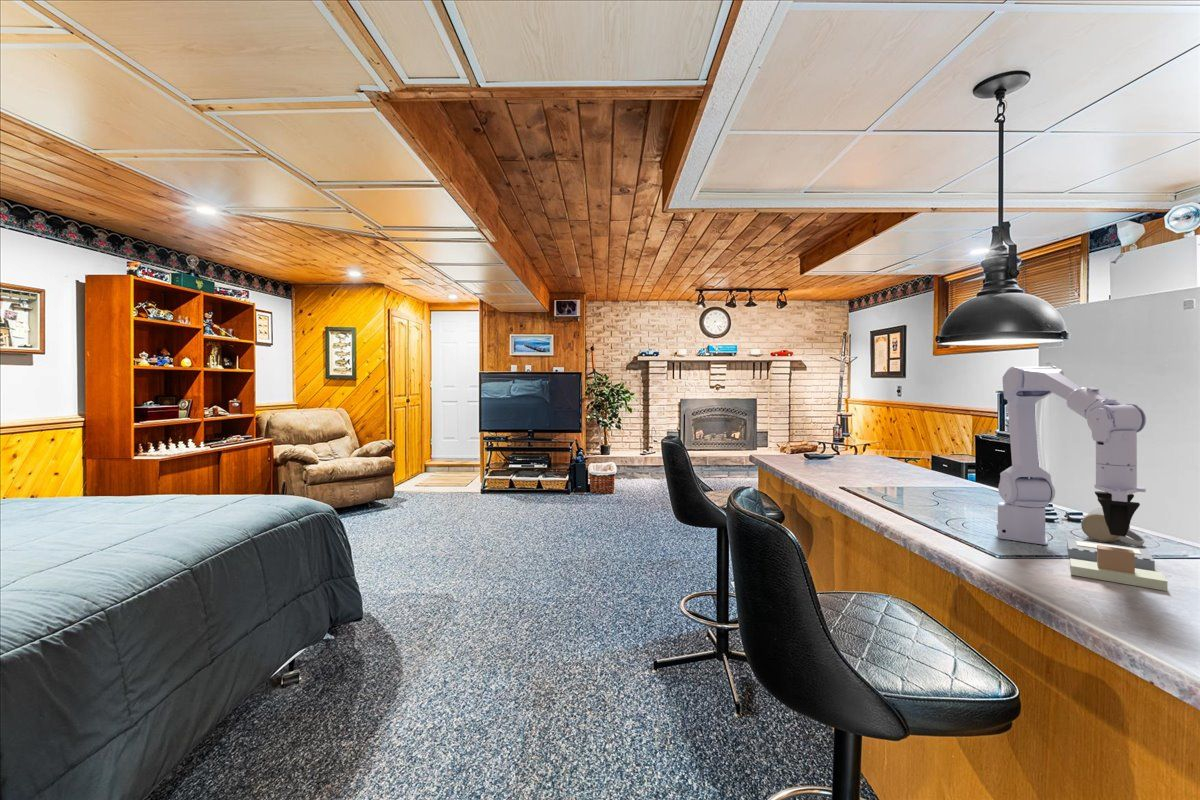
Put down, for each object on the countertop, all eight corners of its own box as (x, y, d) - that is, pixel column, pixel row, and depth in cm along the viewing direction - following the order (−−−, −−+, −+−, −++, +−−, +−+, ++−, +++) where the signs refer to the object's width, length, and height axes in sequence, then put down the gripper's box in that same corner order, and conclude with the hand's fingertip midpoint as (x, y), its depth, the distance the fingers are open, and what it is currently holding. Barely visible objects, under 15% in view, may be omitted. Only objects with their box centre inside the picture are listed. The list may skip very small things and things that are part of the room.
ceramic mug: (1079, 539, 124) (1079, 509, 124) (1087, 533, 129) (1088, 504, 129) (1140, 550, 116) (1141, 518, 115) (1147, 544, 120) (1148, 513, 120)
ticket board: (1068, 557, 111) (1068, 547, 111) (1067, 546, 118) (1067, 537, 118) (1154, 570, 102) (1154, 560, 102) (1147, 558, 110) (1147, 548, 110)
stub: (1071, 574, 100) (1070, 546, 100) (1070, 566, 105) (1069, 539, 105) (1167, 590, 92) (1167, 560, 92) (1161, 581, 96) (1161, 552, 96)
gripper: (1150, 470, 91) (1151, 543, 91) (1140, 461, 102) (1140, 526, 102) (1096, 467, 96) (1097, 536, 96) (1092, 459, 106) (1092, 521, 107)
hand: (1116, 531), depth 99 cm, fingers open, 7 cm apart
